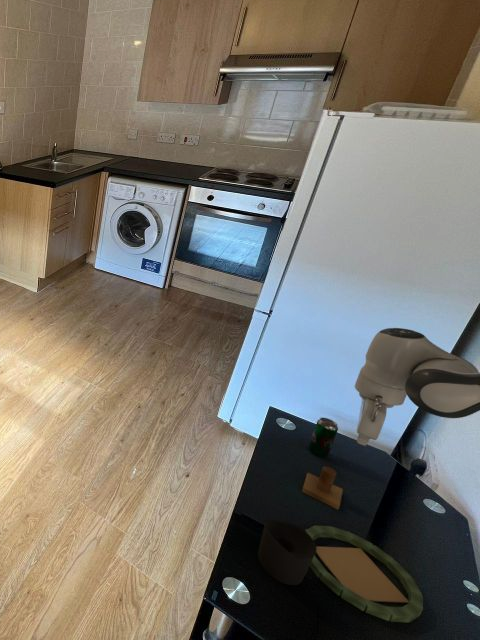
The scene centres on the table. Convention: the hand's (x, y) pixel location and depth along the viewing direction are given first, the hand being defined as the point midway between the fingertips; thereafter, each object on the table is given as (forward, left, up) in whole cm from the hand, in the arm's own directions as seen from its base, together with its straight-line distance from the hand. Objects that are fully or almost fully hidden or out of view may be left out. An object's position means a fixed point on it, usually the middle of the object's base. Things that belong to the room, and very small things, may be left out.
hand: (362, 434), depth 104 cm
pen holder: (+7, +31, -25) cm, 41 cm away
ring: (-6, +19, -25) cm, 32 cm away
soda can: (+6, -23, -25) cm, 34 cm away
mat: (-6, +19, -25) cm, 32 cm away
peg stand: (+3, -4, -25) cm, 25 cm away
